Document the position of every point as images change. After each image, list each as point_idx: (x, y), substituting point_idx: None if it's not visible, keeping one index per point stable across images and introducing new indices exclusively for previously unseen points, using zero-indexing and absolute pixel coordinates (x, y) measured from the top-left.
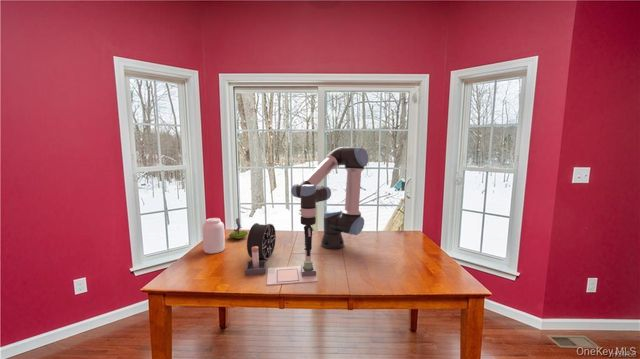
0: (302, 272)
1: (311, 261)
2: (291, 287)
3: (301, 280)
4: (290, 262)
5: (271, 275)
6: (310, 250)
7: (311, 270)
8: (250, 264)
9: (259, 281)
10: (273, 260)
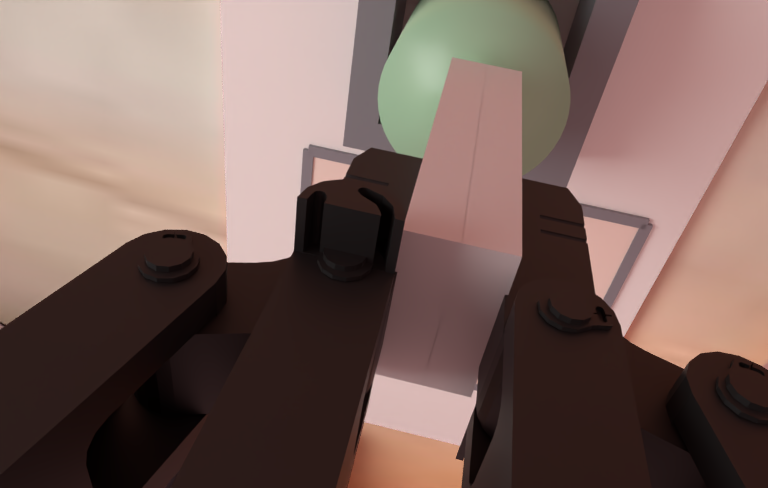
0: (564, 181)
1: (454, 22)
2: (724, 319)
3: (660, 193)
4: (82, 157)
5: (393, 404)
6: (519, 242)
7: (591, 29)
8: (169, 483)
9: (452, 476)
10: (39, 299)
